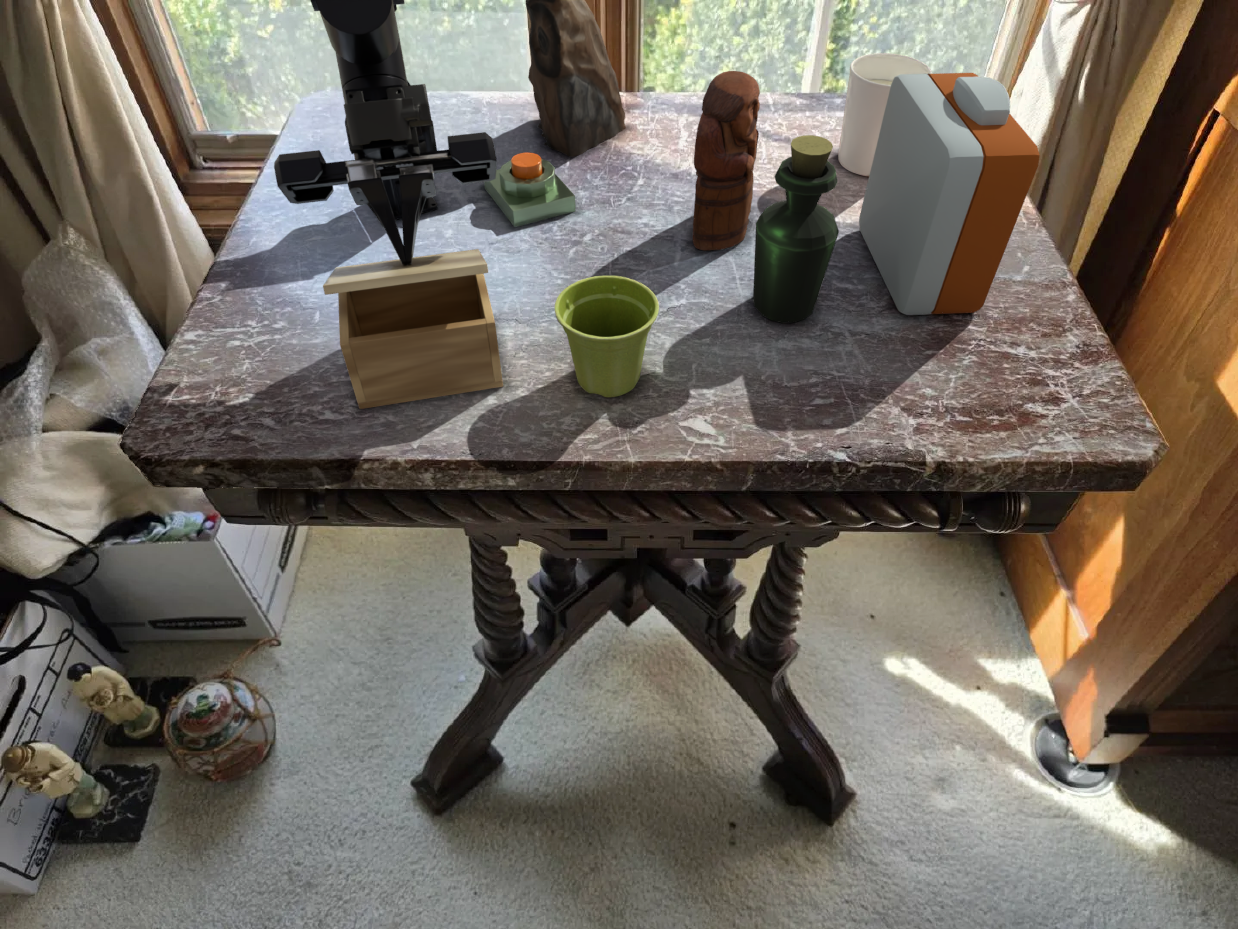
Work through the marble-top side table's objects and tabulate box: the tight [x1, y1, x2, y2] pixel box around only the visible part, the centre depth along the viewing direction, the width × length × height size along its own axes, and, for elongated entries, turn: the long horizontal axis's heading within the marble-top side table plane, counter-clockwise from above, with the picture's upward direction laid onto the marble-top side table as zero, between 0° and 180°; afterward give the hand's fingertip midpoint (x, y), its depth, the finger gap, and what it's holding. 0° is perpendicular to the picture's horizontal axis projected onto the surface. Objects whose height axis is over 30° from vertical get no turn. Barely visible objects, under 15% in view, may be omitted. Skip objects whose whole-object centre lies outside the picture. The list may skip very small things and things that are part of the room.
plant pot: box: [554, 275, 660, 398], centre depth 80 cm, size 9×9×9 cm
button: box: [510, 151, 542, 179], centre depth 102 cm, size 4×4×2 cm
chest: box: [337, 273, 504, 410], centre depth 81 cm, size 11×14×8 cm
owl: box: [525, 0, 627, 158], centre depth 110 cm, size 13×13×20 cm
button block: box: [483, 158, 576, 228], centre depth 104 cm, size 10×8×4 cm
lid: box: [322, 248, 489, 296], centre depth 76 cm, size 12×14×1 cm
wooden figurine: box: [692, 70, 761, 251], centre depth 94 cm, size 12×6×18 cm, turn 164°
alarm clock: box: [858, 72, 1041, 316], centre depth 88 cm, size 18×9×21 cm, turn 4°
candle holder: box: [837, 52, 933, 177], centre depth 108 cm, size 10×10×12 cm
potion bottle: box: [752, 134, 840, 324], centre depth 84 cm, size 8×8×18 cm
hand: (407, 264), depth 76 cm, fingers closed
